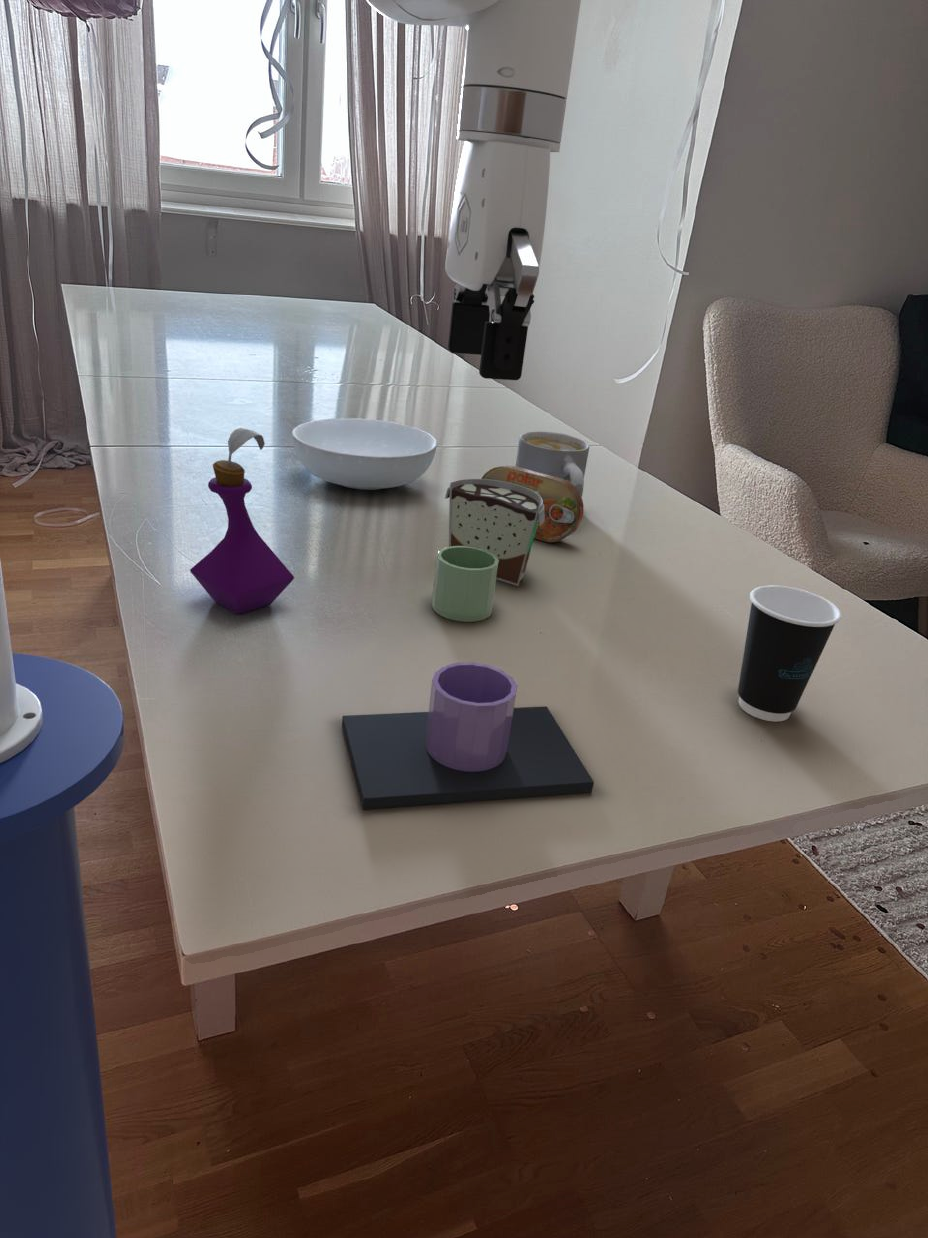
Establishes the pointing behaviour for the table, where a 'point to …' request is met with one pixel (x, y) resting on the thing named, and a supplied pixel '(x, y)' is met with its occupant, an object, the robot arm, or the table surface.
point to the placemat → (409, 776)
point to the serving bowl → (363, 452)
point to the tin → (547, 500)
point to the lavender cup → (470, 716)
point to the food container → (495, 522)
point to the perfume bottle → (240, 544)
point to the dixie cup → (782, 648)
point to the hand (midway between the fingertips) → (482, 364)
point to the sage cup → (464, 583)
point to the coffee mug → (554, 456)
